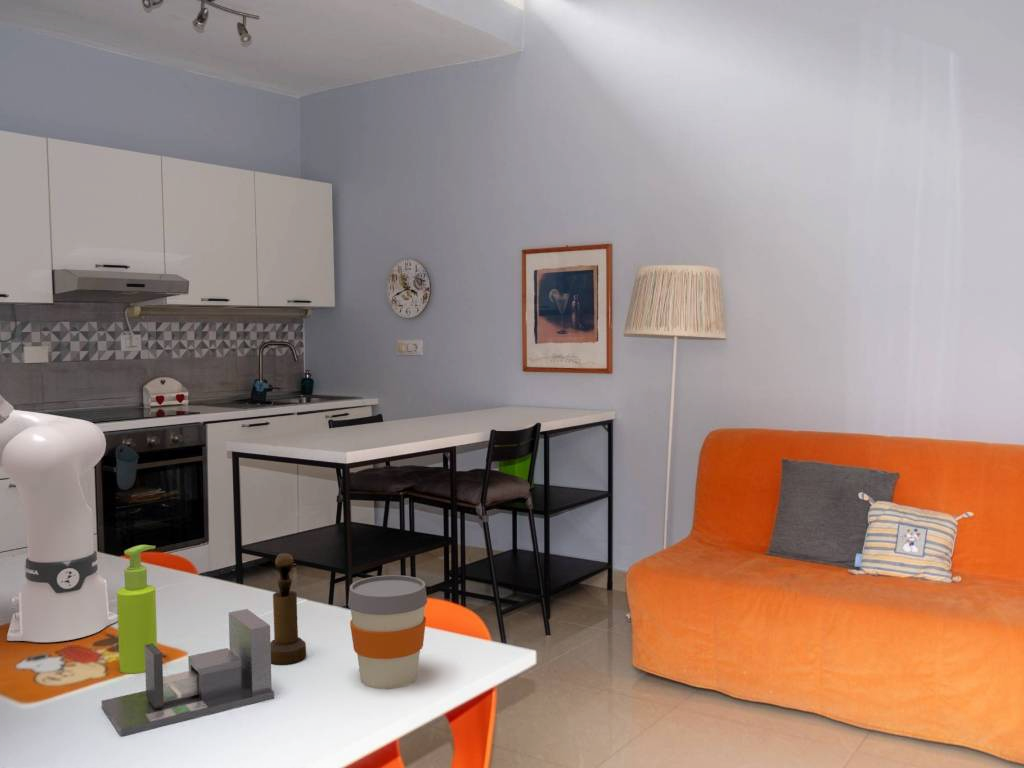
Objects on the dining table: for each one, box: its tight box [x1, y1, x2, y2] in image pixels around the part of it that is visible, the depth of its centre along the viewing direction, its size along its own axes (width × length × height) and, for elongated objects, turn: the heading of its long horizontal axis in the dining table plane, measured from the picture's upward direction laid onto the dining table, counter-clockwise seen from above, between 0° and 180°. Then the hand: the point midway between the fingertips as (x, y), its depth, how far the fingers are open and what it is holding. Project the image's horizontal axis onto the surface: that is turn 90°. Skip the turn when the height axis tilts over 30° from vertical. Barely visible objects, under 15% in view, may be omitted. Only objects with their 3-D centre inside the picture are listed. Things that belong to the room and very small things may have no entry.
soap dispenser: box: [116, 544, 158, 674], centre depth 153 cm, size 6×7×20 cm
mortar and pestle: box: [270, 552, 307, 666], centre depth 157 cm, size 7×6×18 cm
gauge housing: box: [101, 608, 275, 737], centre depth 138 cm, size 12×22×11 cm, turn 126°
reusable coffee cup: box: [347, 574, 428, 689], centre depth 148 cm, size 13×12×15 cm
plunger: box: [144, 643, 199, 709], centre depth 137 cm, size 8×11×8 cm
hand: (7, 417), depth 130 cm, fingers open, 8 cm apart
